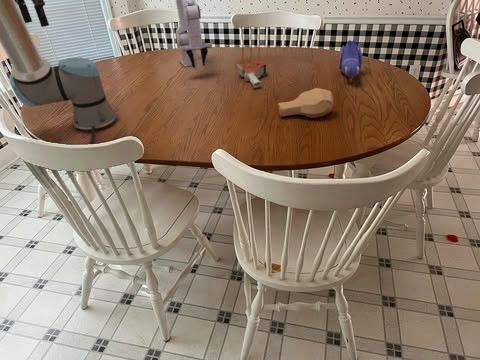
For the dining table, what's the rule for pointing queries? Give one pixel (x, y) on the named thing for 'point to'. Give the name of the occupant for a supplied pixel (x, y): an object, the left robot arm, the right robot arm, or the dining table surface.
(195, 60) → the canister
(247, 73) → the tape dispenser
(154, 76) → the dining table surface
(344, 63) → the toy
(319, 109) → the squash
